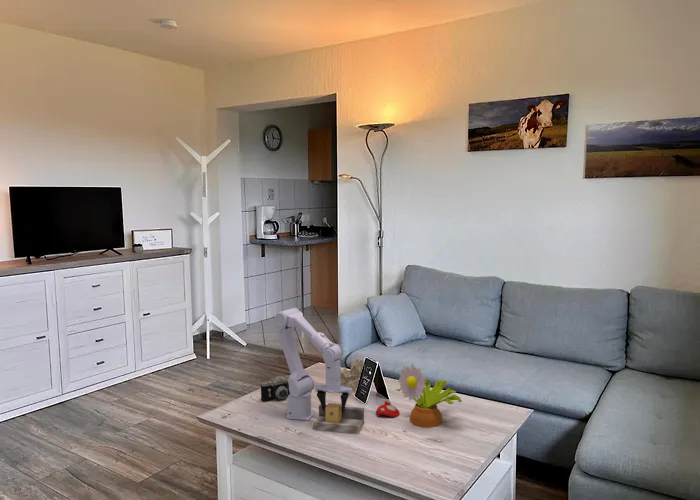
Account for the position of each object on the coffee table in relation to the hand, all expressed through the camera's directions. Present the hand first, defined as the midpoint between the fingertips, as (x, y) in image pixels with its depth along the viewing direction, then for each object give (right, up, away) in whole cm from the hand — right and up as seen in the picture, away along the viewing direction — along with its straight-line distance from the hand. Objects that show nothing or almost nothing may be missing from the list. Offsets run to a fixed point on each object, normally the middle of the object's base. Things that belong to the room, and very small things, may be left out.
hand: (333, 410), depth 201 cm
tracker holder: (+22, -5, +12) cm, 26 cm away
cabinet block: (0, -4, 0) cm, 4 cm away
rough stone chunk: (+7, -2, +43) cm, 44 cm away
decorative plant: (+38, -5, +4) cm, 39 cm away
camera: (-25, -4, +28) cm, 38 cm away
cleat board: (+2, -6, 0) cm, 6 cm away
